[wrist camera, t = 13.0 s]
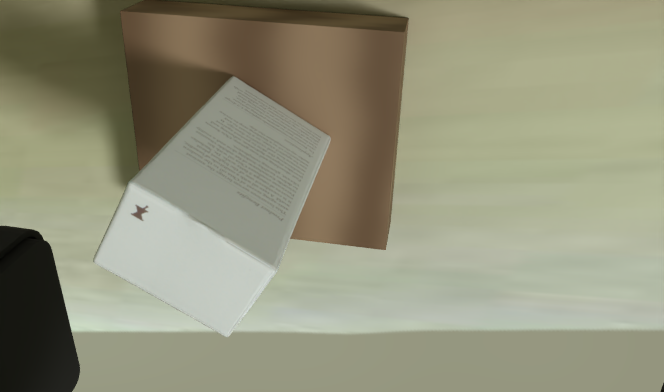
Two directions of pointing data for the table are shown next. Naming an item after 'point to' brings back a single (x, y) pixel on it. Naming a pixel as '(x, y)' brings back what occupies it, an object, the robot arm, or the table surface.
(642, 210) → the table surface
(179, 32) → the block
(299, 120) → the skincare box
